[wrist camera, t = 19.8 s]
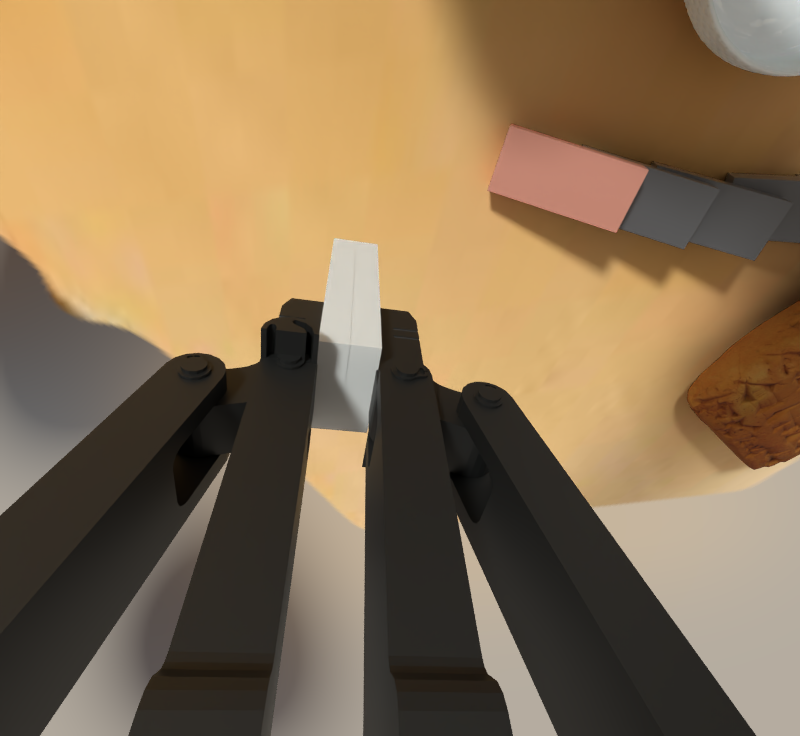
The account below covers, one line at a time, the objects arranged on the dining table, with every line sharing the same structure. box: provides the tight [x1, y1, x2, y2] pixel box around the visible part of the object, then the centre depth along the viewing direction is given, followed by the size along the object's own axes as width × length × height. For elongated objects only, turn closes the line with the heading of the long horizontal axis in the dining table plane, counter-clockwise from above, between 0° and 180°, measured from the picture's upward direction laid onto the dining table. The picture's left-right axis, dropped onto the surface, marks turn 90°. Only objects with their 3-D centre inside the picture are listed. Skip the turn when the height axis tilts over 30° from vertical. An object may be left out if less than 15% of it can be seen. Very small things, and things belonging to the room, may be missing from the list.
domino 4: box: [725, 173, 800, 243], centre depth 41 cm, size 5×2×11 cm
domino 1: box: [487, 123, 649, 233], centre depth 39 cm, size 5×2×11 cm
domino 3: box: [651, 161, 793, 261], centre depth 41 cm, size 5×2×11 cm
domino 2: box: [582, 144, 720, 249], centre depth 40 cm, size 5×2×11 cm
